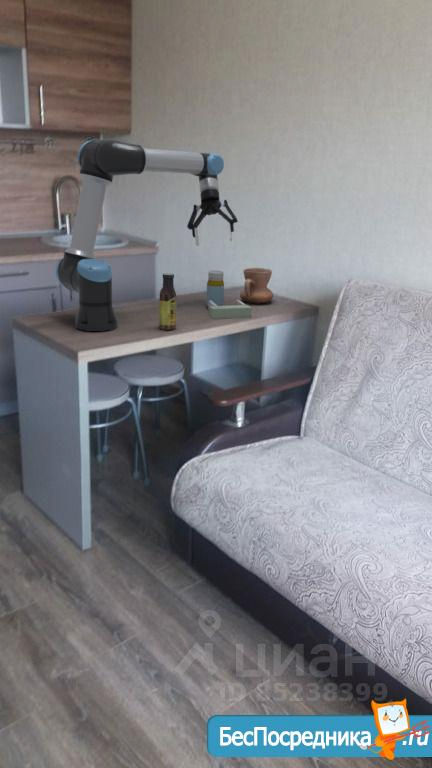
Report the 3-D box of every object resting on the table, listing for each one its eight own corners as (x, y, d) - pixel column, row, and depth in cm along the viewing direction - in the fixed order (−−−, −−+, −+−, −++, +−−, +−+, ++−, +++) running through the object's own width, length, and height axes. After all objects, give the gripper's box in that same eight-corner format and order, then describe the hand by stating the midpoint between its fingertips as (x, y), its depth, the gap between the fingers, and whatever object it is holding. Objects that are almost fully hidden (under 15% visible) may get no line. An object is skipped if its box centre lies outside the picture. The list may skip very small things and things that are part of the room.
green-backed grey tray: (212, 318, 235) (212, 308, 234) (203, 310, 247) (203, 300, 245) (251, 317, 239) (251, 307, 238) (240, 309, 251) (241, 299, 250)
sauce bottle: (173, 331, 217) (174, 276, 210) (156, 329, 218) (156, 274, 211) (178, 326, 223) (179, 273, 216) (161, 325, 224) (162, 271, 217)
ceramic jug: (253, 296, 276) (254, 265, 271) (280, 301, 268) (282, 269, 263) (230, 303, 263) (231, 270, 258) (258, 308, 255) (259, 275, 250)
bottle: (205, 305, 255) (206, 270, 250) (221, 305, 256) (222, 270, 251) (207, 309, 249) (209, 273, 243) (224, 309, 250) (226, 273, 244)
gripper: (241, 191, 245) (246, 240, 243) (181, 200, 250) (185, 249, 247) (238, 182, 238) (243, 234, 235) (177, 193, 242) (181, 243, 239)
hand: (214, 242), depth 241 cm, fingers open, 13 cm apart
